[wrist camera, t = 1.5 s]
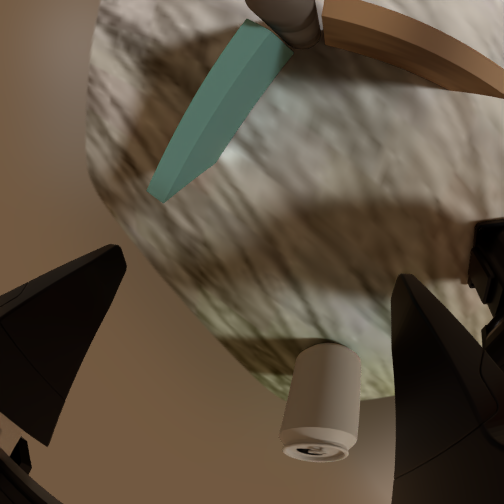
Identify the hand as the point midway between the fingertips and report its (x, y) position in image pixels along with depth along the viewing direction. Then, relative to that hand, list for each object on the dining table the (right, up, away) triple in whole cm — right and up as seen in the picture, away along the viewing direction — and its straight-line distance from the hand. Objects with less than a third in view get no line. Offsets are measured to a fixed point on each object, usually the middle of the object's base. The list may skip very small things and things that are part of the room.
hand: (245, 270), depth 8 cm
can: (+9, -11, +22) cm, 26 cm away
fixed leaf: (+8, +14, +5) cm, 16 cm away
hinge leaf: (0, +12, +8) cm, 14 cm away
